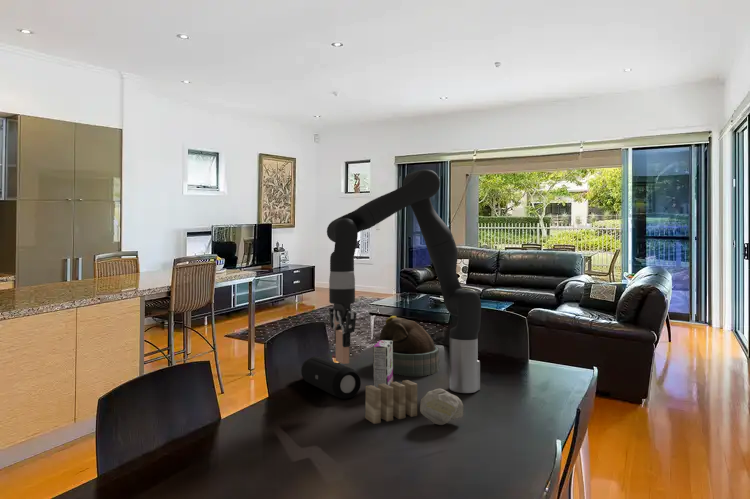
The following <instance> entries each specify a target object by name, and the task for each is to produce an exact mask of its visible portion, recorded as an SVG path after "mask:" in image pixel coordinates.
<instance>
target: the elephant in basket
mask: <svg viewBox="0 0 750 499" xmlns="http://www.w3.org/2000/svg"><path fill="white" fill-rule="evenodd" d="M379 334H380V335H379V340H388V341H393V373H394V374H393V375H398V374H399V375H398V376H403V375H404V376H403V377H426V376H427V375H428V376H431V374H432V375H434V374H436V372H437V373H438V372H439V370H440V369H439V368H441V366H440V356H439V348H438V347H437V346H436V345H435V342H434V339H433V338H432V337H431V335H430V334H429V333H428V332H427V331H426V330H425V328H423V326H422V325H420V324H418V323H417V322H416V321H414V320H410V319H406V318H402V317H397V315H391V316H390V317H388V318H387V319H386V320H385V324H384V326H383V327H382V328H381V330H380V333H379ZM428 376H427V377H428Z"/></svg>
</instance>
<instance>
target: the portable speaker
mask: <svg viewBox="0 0 750 499" xmlns="http://www.w3.org/2000/svg"><path fill="white" fill-rule="evenodd" d="M300 372H301V376H302V379H303V380H304V382H305V383H308V384H310V385H312V386H314V387H316V388H318V389H320V390H322V391H324V392H325V393H328V394H330V395H332V396H334V397H335V398H338V399H339V400H340V399H341V400H345V399H350V398H351V399H352V398H354V397H355V396H356V395H357V394H358V393H359V391H360V388H361V384H362V382H361V378H360V376H359V374H358V373H357V371H356V370H355V369H354V368H351V367H350V366H349V367H348V366H347V365H345V364H342V363H339V362H335V361H332V360H329V359H326V358H324V357H321V356H319V355H317V356H316V355H315V356H312V357H309V358H307V359H306V360H305V361H304V362H303V363H302V365H301V368H300Z"/></svg>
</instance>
